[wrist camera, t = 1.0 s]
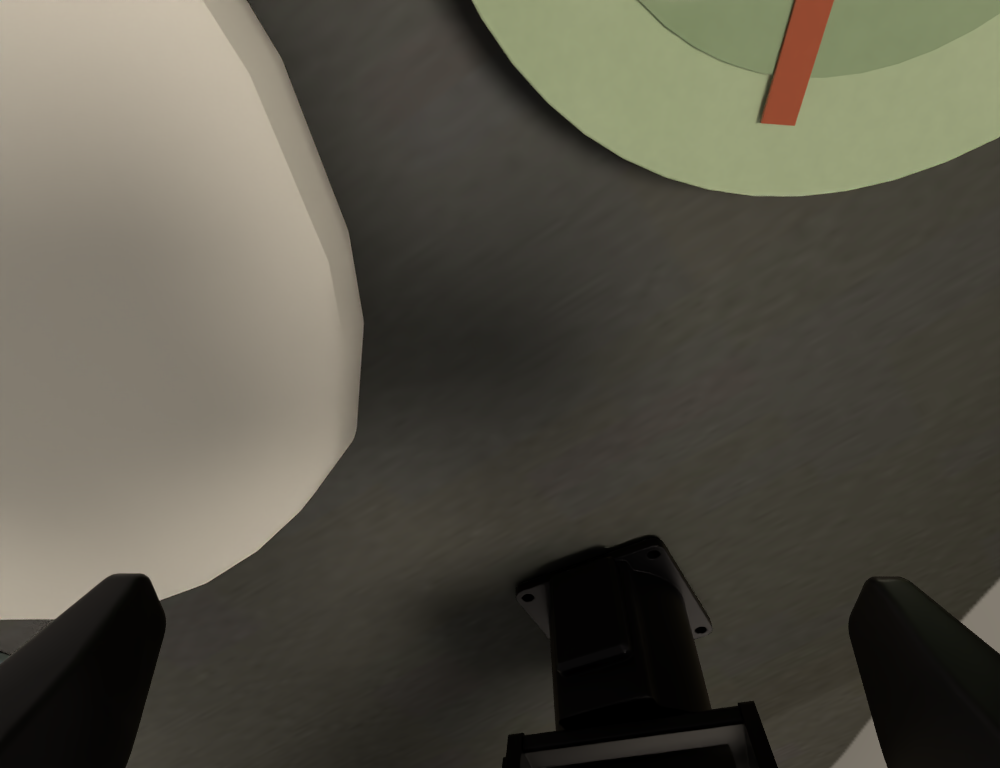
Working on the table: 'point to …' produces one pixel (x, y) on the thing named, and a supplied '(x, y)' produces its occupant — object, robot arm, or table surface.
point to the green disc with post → (764, 84)
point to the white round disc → (160, 298)
